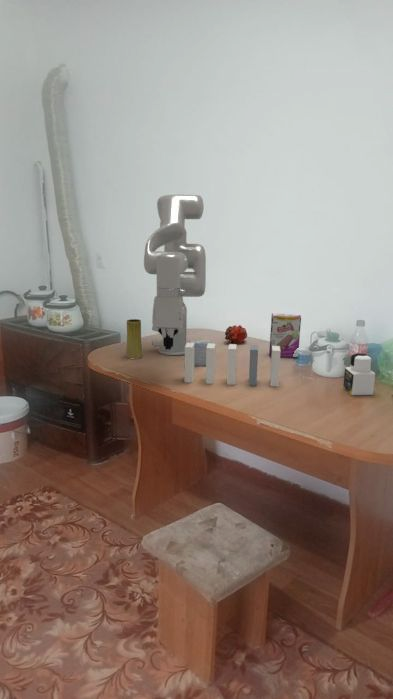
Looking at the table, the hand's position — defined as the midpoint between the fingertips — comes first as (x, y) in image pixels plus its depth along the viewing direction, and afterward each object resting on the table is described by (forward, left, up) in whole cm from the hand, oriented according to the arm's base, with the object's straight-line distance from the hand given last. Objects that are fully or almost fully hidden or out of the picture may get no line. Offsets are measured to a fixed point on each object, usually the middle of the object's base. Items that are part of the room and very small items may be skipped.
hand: (168, 348), depth 169 cm
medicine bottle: (+61, -3, -11) cm, 62 cm away
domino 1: (+7, +1, -11) cm, 13 cm away
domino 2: (+14, +1, -11) cm, 17 cm away
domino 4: (+28, +1, -11) cm, 30 cm away
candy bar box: (+40, +35, -11) cm, 54 cm away
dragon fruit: (+21, +53, -11) cm, 58 cm away
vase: (-17, +25, -11) cm, 32 cm away
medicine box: (+9, +19, -11) cm, 23 cm away
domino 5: (+35, +1, -11) cm, 37 cm away
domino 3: (+21, +1, -11) cm, 23 cm away
